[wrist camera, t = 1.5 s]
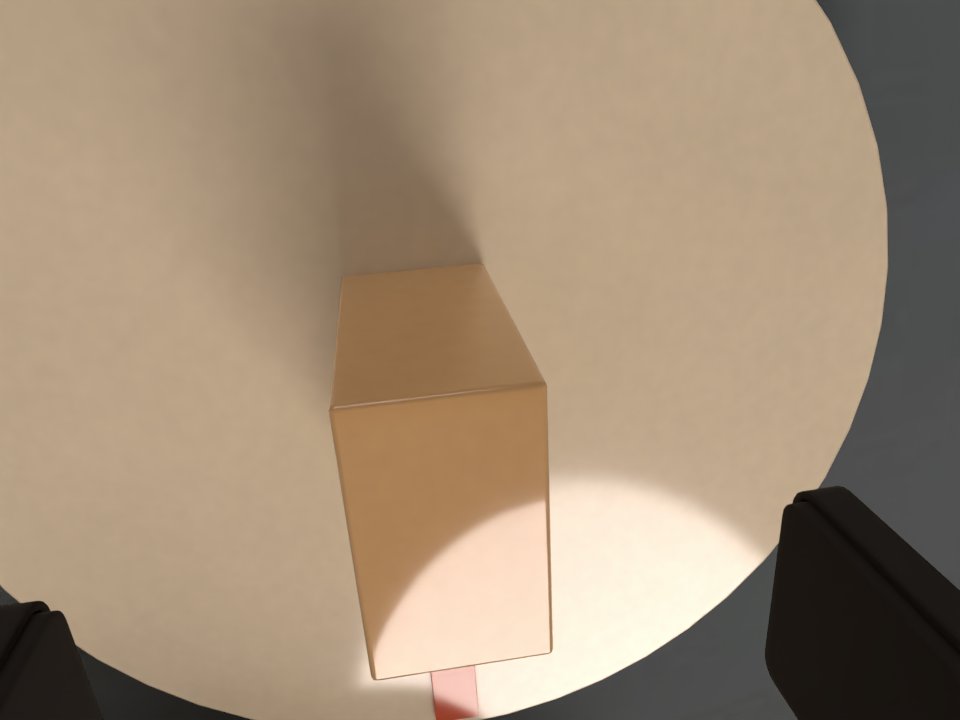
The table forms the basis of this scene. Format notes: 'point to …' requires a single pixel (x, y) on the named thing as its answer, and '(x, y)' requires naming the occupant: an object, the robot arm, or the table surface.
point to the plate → (392, 161)
